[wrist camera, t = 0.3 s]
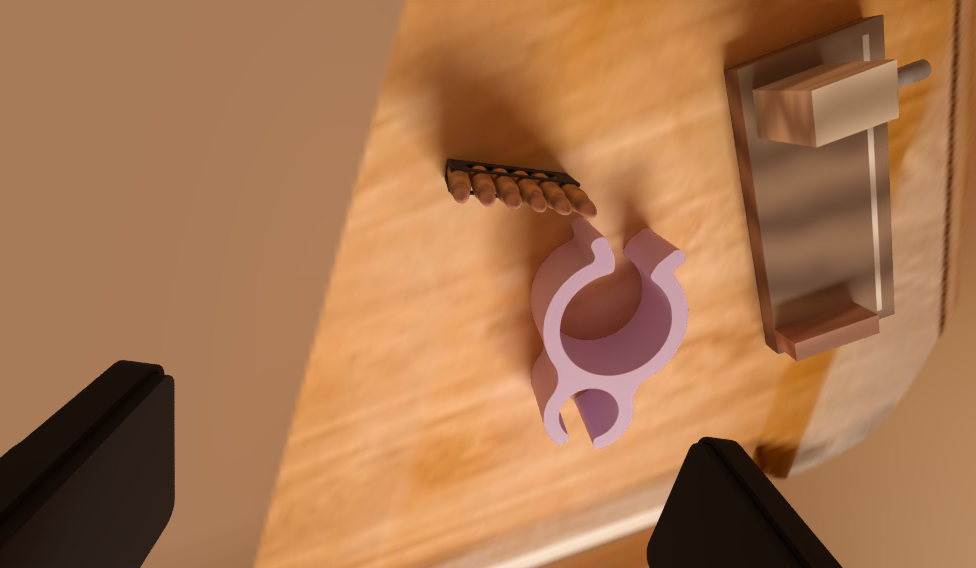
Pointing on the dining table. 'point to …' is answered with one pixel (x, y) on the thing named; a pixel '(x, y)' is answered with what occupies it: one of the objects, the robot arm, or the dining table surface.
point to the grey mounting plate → (816, 207)
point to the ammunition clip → (517, 187)
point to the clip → (615, 358)
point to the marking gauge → (833, 100)
